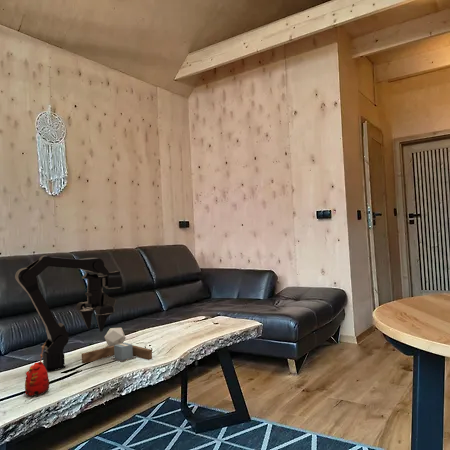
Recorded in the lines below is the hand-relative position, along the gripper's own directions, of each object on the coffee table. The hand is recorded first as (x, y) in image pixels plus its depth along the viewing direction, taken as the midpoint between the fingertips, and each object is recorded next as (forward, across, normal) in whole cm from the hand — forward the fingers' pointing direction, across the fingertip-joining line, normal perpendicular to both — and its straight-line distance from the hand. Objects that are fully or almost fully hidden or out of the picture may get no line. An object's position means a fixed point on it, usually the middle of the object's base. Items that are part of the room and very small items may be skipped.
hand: (95, 329), depth 163 cm
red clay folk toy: (+12, -17, +30) cm, 36 cm away
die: (+12, +12, -17) cm, 24 cm away
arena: (+11, -8, -5) cm, 15 cm away
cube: (+11, -7, -8) cm, 16 cm away
